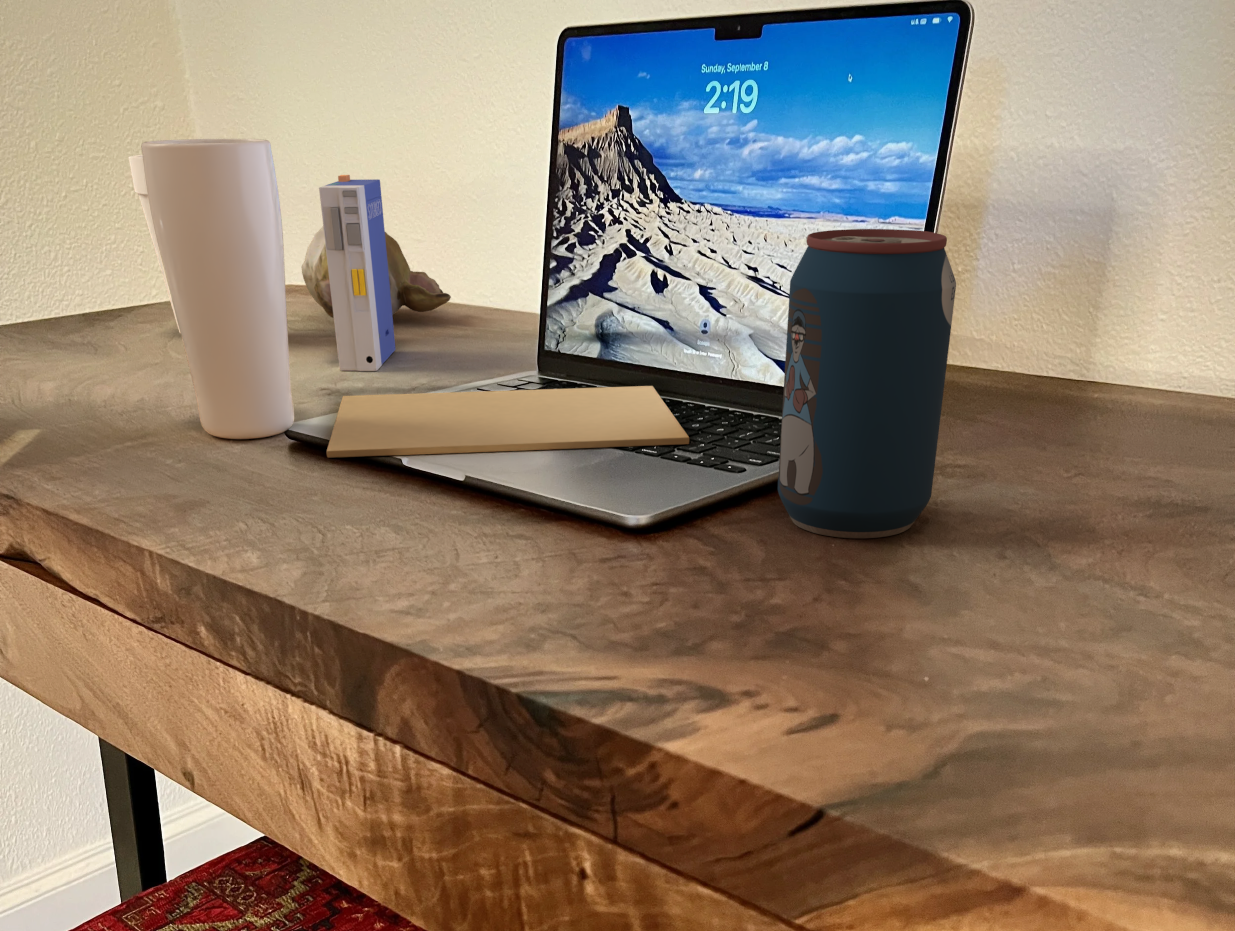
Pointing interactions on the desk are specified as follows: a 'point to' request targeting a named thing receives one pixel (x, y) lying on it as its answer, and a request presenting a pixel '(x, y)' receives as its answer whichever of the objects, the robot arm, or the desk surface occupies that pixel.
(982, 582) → the desk surface
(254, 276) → the white tumbler
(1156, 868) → the desk surface
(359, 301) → the walkman
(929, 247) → the soda can
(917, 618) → the desk surface
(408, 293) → the ceramic sculpture
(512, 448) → the cork mat
